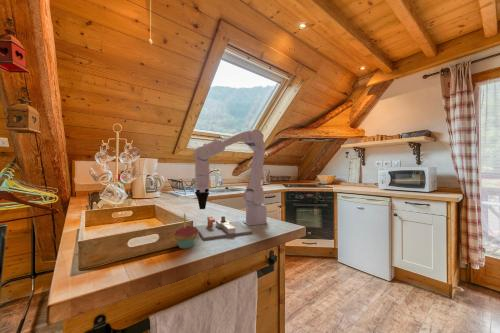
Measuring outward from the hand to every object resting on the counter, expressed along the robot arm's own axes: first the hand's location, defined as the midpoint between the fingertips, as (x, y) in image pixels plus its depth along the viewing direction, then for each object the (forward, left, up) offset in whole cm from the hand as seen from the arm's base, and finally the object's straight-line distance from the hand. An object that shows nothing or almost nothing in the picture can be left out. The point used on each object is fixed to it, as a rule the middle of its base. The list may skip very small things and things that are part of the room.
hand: (202, 207), depth 97 cm
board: (-8, +4, -10) cm, 13 cm away
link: (-9, +5, -9) cm, 14 cm away
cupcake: (+9, +15, -10) cm, 20 cm away
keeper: (-4, 0, -10) cm, 11 cm away
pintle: (-9, +1, -10) cm, 13 cm away
